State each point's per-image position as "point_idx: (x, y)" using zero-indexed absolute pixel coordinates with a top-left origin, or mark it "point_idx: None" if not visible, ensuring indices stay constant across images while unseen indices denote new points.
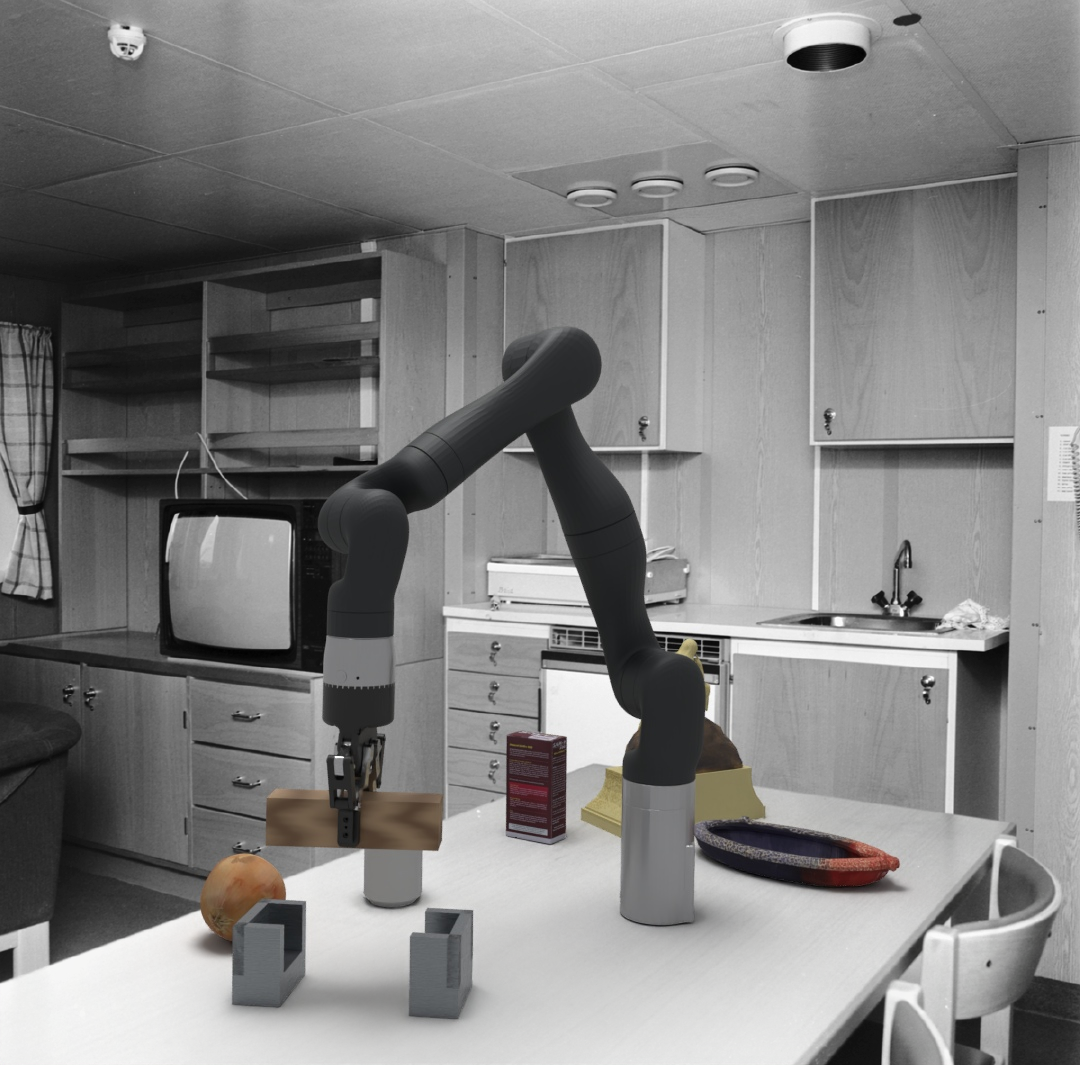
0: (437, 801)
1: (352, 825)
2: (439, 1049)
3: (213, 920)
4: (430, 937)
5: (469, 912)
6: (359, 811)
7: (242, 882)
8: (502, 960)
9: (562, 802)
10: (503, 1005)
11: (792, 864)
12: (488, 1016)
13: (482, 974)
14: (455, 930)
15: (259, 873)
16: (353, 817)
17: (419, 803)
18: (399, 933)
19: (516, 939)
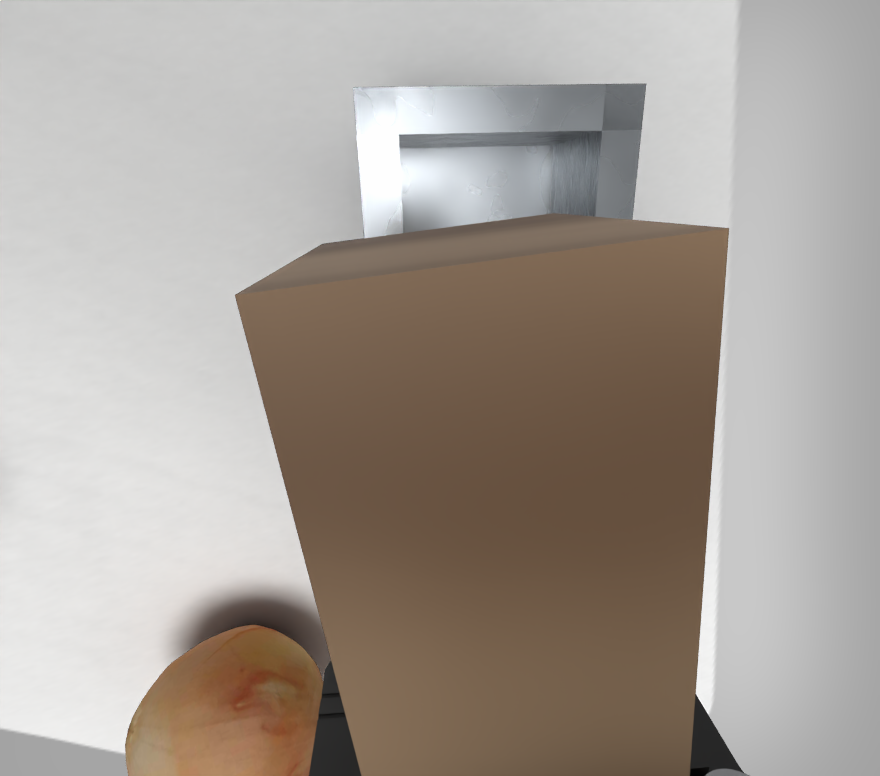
0: (656, 270)
1: (705, 710)
2: (703, 132)
3: None
4: (633, 191)
5: (379, 98)
6: (692, 769)
7: (291, 768)
8: (184, 64)
9: None
10: (473, 9)
11: None
12: (539, 42)
13: (296, 108)
14: (566, 115)
15: (247, 764)
16: (718, 753)
17: (710, 448)
18: (106, 386)
19: (6, 44)
